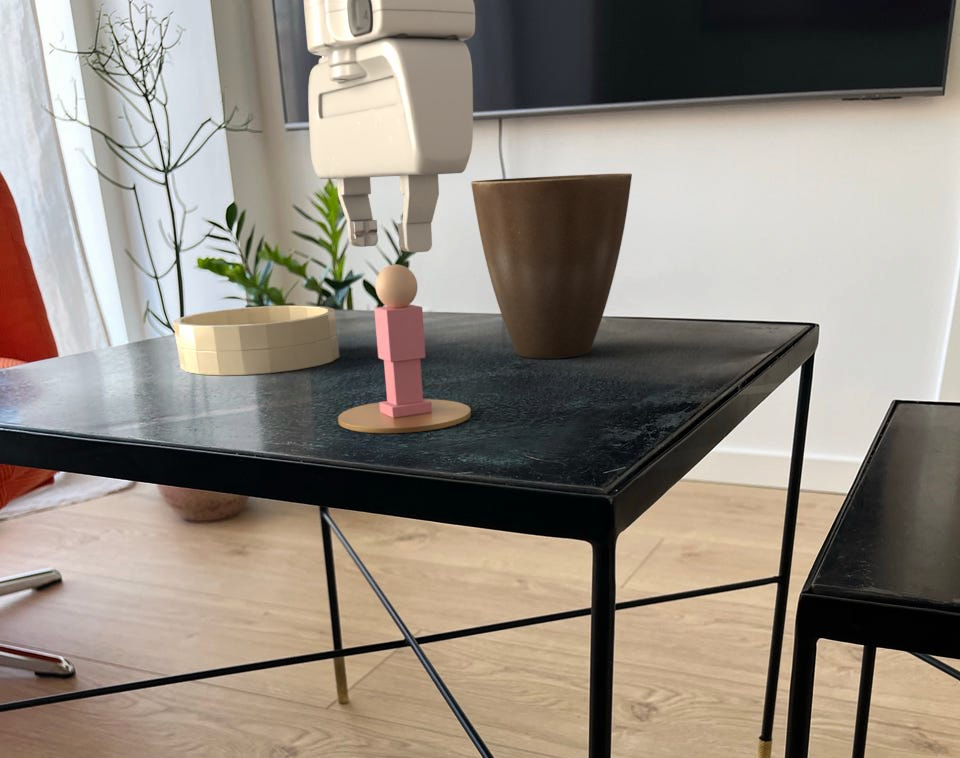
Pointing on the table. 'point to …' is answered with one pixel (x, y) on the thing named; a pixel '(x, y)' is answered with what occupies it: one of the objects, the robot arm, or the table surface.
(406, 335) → the doll
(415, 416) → the mat
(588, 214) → the flower pot
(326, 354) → the basin
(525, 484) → the table surface
